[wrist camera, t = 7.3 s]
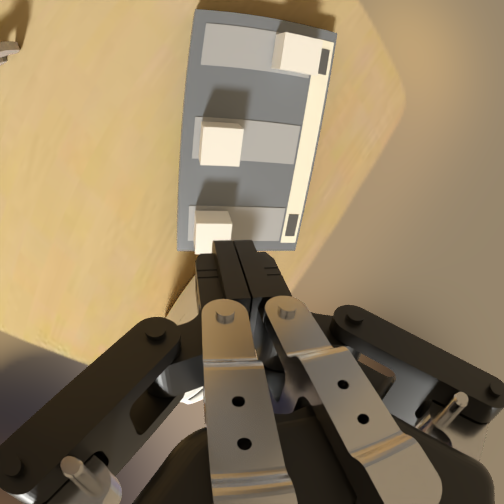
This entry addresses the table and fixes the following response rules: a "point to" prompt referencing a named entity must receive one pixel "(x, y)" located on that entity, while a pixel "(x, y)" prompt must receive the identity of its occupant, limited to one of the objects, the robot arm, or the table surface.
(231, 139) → the middle tab
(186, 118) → the switch board
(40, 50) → the table surface
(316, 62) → the tab
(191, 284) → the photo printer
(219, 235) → the tab
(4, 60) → the caliper
